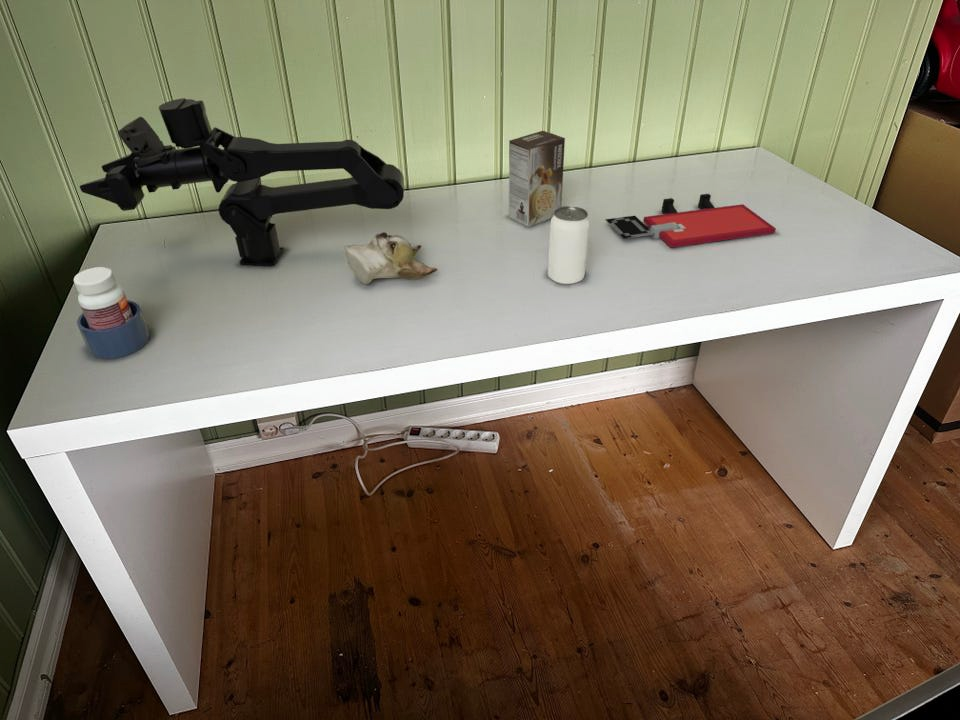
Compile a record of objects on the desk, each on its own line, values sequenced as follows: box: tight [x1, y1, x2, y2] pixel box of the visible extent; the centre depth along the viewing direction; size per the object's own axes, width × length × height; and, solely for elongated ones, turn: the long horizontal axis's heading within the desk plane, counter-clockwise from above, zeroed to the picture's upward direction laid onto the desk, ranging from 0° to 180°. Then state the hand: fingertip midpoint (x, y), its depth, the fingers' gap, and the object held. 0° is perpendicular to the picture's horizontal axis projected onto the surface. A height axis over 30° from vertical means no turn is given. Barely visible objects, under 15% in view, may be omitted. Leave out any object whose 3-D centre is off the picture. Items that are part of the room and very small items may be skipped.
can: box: [547, 205, 590, 286], centre depth 117 cm, size 6×6×12 cm
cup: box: [76, 299, 150, 360], centre depth 104 cm, size 9×9×5 cm
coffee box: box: [508, 130, 566, 228], centre depth 135 cm, size 9×6×16 cm
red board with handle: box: [604, 193, 777, 248], centre depth 135 cm, size 30×3×15 cm
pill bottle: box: [73, 266, 133, 330], centre depth 102 cm, size 6×6×11 cm
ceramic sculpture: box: [344, 231, 438, 286], centre depth 119 cm, size 11×9×15 cm
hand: (92, 178), depth 116 cm, fingers open, 9 cm apart
